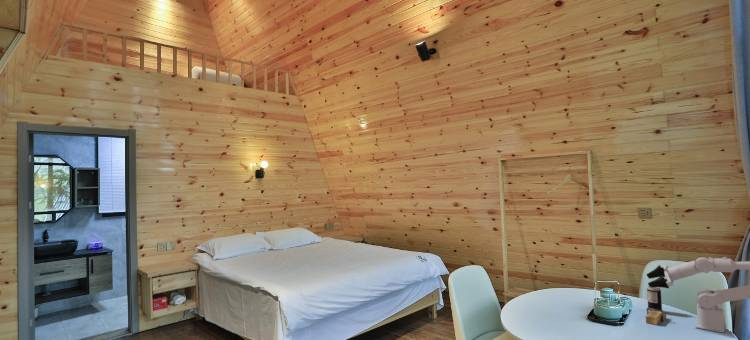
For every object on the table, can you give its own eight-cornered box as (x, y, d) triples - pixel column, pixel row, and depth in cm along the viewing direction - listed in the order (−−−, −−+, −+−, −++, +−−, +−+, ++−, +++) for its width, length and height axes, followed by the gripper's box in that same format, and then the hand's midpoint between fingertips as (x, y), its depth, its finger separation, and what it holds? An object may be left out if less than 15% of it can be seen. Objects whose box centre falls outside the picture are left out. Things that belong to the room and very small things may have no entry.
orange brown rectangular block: (662, 319, 193) (662, 311, 194) (656, 326, 185) (656, 318, 185) (652, 317, 196) (652, 310, 196) (646, 324, 188) (645, 316, 188)
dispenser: (666, 318, 193) (665, 307, 194) (663, 321, 189) (662, 310, 190) (650, 315, 198) (649, 305, 198) (647, 318, 194) (646, 308, 194)
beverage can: (664, 313, 201) (662, 288, 201) (651, 313, 202) (649, 288, 202) (658, 309, 206) (657, 285, 207) (646, 309, 207) (644, 285, 208)
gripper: (673, 256, 192) (642, 265, 200) (678, 272, 180) (645, 282, 188) (681, 268, 192) (650, 277, 200) (686, 286, 180) (653, 295, 188)
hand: (648, 280), depth 194 cm, fingers open, 7 cm apart
